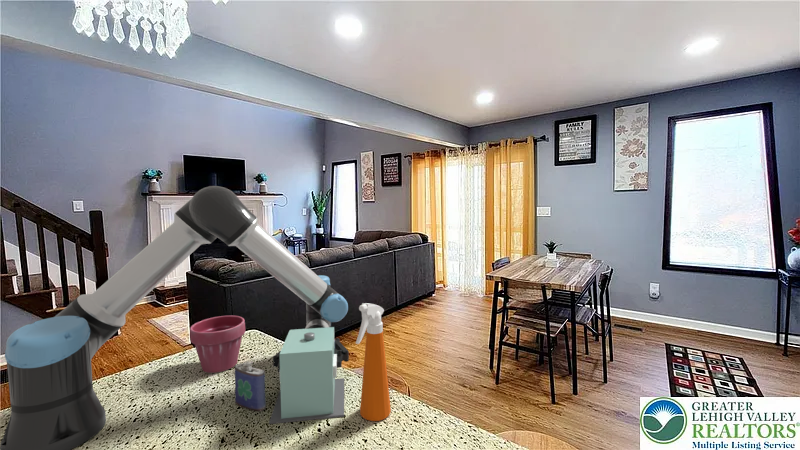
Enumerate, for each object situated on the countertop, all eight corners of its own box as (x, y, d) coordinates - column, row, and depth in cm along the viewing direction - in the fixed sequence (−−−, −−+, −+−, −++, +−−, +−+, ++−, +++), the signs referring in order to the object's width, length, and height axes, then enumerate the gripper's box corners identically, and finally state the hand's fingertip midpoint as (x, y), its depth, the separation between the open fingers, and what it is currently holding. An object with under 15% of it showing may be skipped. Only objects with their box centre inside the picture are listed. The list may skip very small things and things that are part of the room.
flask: (268, 407, 80) (267, 363, 79) (258, 414, 77) (256, 368, 76) (241, 397, 84) (240, 355, 83) (231, 403, 81) (229, 360, 81)
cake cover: (281, 418, 75) (279, 348, 74) (291, 384, 89) (289, 325, 88) (333, 413, 77) (332, 345, 76) (335, 380, 91) (334, 322, 90)
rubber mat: (269, 424, 74) (268, 422, 74) (282, 384, 89) (282, 383, 89) (344, 416, 76) (344, 414, 76) (344, 379, 92) (344, 378, 92)
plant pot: (180, 372, 96) (177, 327, 95) (223, 351, 109) (221, 312, 108) (216, 382, 91) (214, 335, 90) (256, 359, 104) (255, 318, 103)
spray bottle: (344, 426, 73) (342, 305, 71) (370, 399, 82) (369, 292, 81) (372, 436, 70) (371, 310, 68) (396, 407, 79) (395, 296, 78)
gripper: (356, 346, 102) (360, 385, 80) (274, 352, 98) (254, 394, 77) (356, 321, 101) (359, 354, 80) (273, 326, 98) (253, 362, 76)
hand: (308, 374), depth 78 cm, fingers closed on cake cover, 11 cm apart
